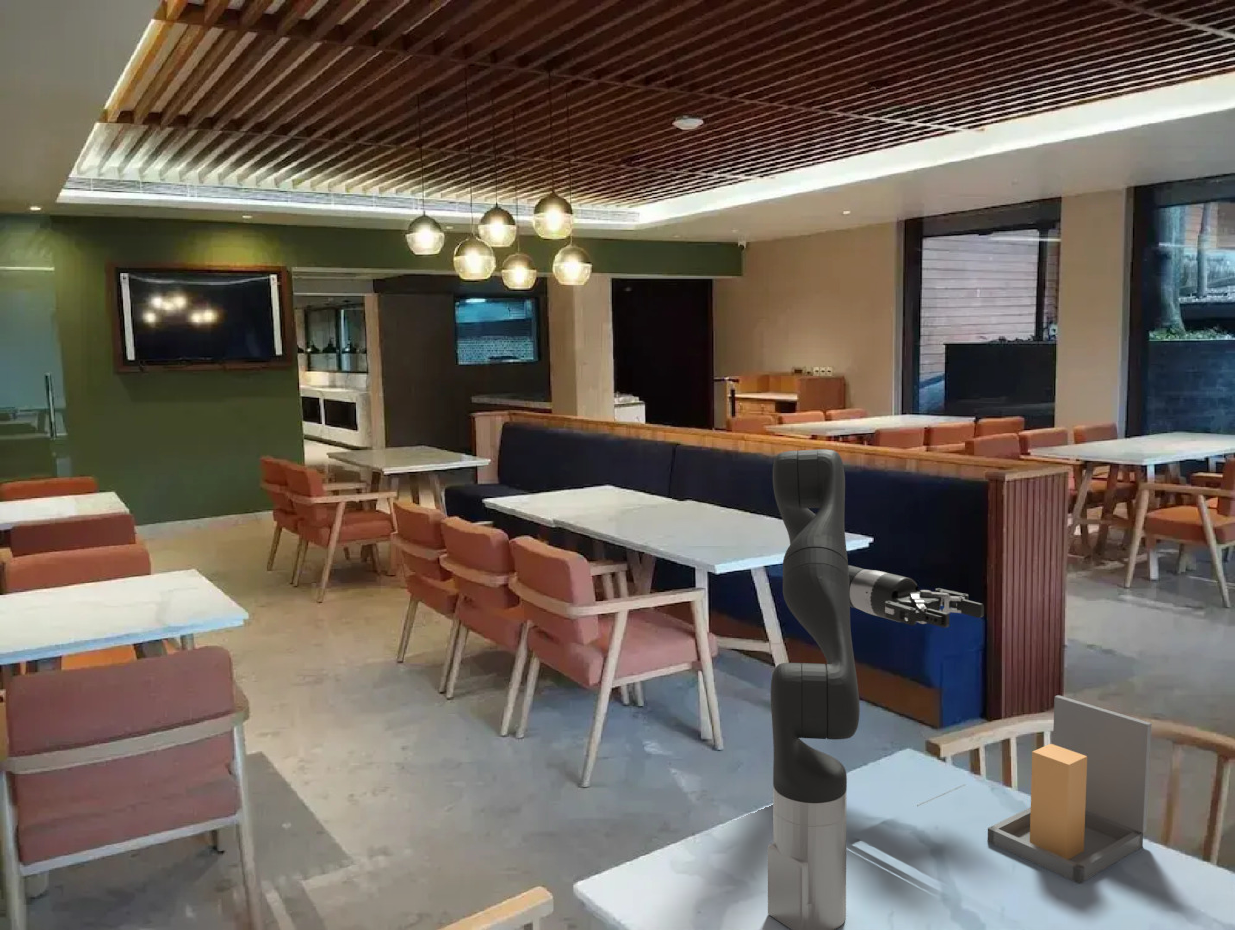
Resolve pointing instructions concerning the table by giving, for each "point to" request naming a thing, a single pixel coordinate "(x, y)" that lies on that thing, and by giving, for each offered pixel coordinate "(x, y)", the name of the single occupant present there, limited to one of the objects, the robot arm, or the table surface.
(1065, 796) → the block
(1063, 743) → the case
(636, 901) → the table surface
